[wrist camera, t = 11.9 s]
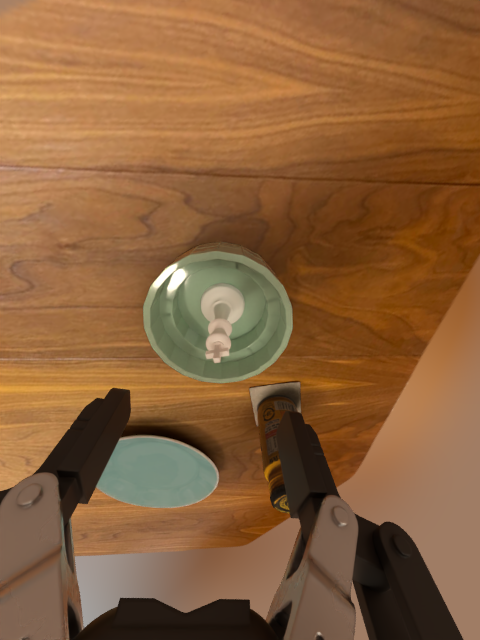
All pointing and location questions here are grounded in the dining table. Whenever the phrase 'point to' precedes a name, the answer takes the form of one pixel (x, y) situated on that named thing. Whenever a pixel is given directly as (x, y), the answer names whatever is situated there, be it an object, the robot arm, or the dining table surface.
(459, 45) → the dining table surface
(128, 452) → the plate
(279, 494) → the condiment
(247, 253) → the bowl
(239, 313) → the chess piece
